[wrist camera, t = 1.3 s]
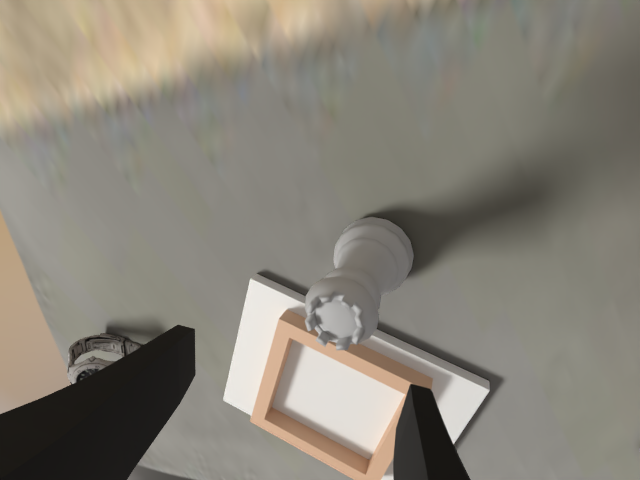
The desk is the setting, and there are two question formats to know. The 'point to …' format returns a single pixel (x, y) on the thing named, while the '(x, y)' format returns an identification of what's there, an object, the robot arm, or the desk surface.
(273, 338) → the socket holder
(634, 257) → the desk surface
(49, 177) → the desk surface
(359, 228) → the rook chess piece
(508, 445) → the desk surface
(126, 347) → the wristwatch
